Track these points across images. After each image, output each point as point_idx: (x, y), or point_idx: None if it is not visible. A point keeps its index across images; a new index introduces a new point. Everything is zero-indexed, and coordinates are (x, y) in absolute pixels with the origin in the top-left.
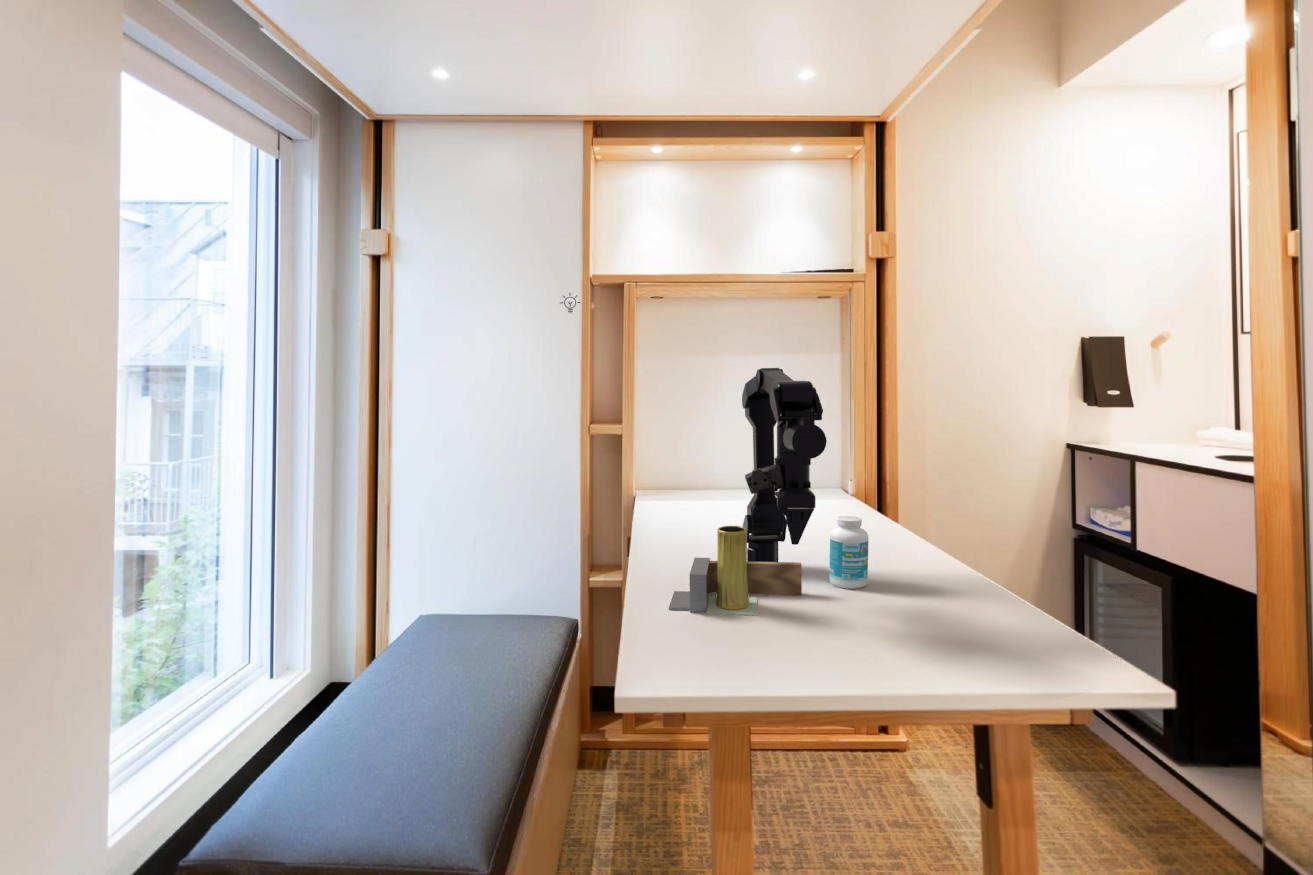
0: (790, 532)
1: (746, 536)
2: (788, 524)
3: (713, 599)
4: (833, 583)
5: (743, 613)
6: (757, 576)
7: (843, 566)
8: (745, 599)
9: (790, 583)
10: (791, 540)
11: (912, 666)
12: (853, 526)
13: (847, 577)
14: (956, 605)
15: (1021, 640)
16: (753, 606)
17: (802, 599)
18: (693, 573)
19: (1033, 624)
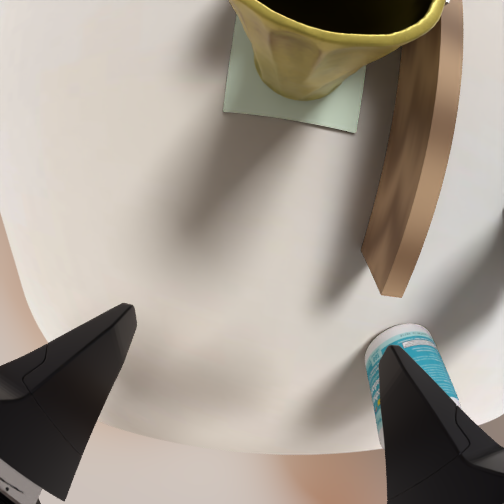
0: (74, 332)
1: (313, 56)
2: (31, 352)
3: None
4: (395, 326)
5: (231, 78)
6: (406, 151)
7: None
8: (273, 85)
9: (375, 237)
10: (108, 310)
11: (62, 310)
12: None
13: (373, 358)
14: (265, 424)
15: (159, 418)
16: (283, 109)
17: (332, 244)
18: None
19: (205, 441)
